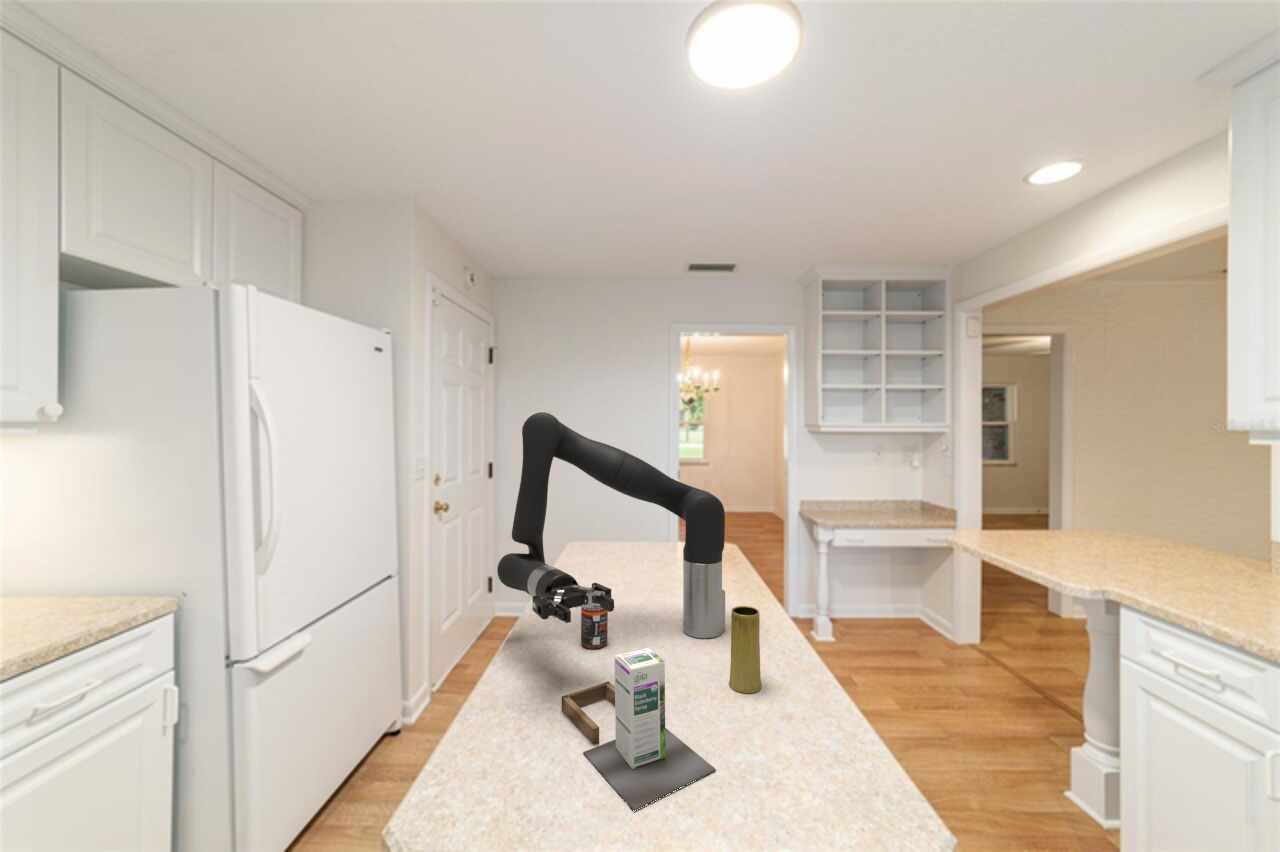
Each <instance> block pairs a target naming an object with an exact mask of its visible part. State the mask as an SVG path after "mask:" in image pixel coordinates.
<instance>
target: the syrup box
mask: <svg viewBox="0 0 1280 852" xmlns="http://www.w3.org/2000/svg"><path fill="white" fill-rule="evenodd" d="M665 664H666V663H665V660H663V658H662V657H661V656H660V655H658V653H655V652H654V651H653V650H651V649H650V648H648V647H644V648H643V649H638V650H635V651H630V652H625V653H619V654H615V655H614V686H615V706H614V709H615V712H614V713H615V716H614V717H615V722H614V723H615V739H616V748H617V750H618V751H619V753H620V754H621V756H622V757H623V758H624V759H625V761H626V762H627V763H628V764H629V766H630V767H631V768H632V769H634V768H636V767H637V766H640V765H643V764H646V763H649V762H652V761H655V760H658V759H662V758H664V757H665V756H666V744H665V728H666V683H665V682H666V673H665V671H666V670H665V669H666V668H665V667H666V665H665Z"/></svg>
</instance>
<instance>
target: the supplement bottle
mask: <svg viewBox="0 0 1280 852" xmlns="http://www.w3.org/2000/svg"><path fill="white" fill-rule="evenodd" d="M594 600H595V601H599V599H597V598H594ZM585 602H587V603H588V595H587V598H586V601H585ZM580 609H581V610H580V612H581V613H580V616H581V617H580V619H581V620H580V627H581V628H580V633H581V634H580V641H581V642H580V644H581V645H582V646H583V648H585V649H586V648H587V649H592V650H593V649H594V650H595V649H596V650H598V649H601V648H603V647H605V646H606V645H607V644H608V629H609V628H608V622H609V621H608V617H609V616H608V615H609V614H608V611H607V610H605V609H603V608H601V607H600V606H592V607H591V608H587V607H580Z"/></svg>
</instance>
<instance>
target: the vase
mask: <svg viewBox="0 0 1280 852" xmlns="http://www.w3.org/2000/svg"><path fill="white" fill-rule="evenodd" d="M730 616H731V617H730V620H731V621H730V624H731V625H730V626H731V628H730V632H731V633H730V669H729V670H730V672H729V681H728V684H729V687H730V688H731V689H732V690H734V691H736V692H739V693H741V694H742V693H743V694H754V693H758V692H759V691H760V690H761V689H762V687H763V685H762V680H761V679H762V677H761V652H760V651H761V648H760V646H761V645H760V644H761V643H760V624H761V623H760V610H759V609H758V608H756V607H753V606H749V605H739V606H738V605H737V606H735V607H732V609H731V615H730Z"/></svg>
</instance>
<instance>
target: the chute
mask: <svg viewBox="0 0 1280 852" xmlns="http://www.w3.org/2000/svg"><path fill="white" fill-rule="evenodd" d="M603 700H607V701H608V702H609V703H610V704H611V705H613V706H614V707H615V684H613V683H611V682H610V681H605V682H603V683H599V684H596V685H593V686H589V687H587V688H584V689H580V690H578V691H574V692H572V693H568V694H565V695H562V696H561V712H562V714H564V716H566V717H567V718H568V719H569V721H570V722H571V723H572V724H573V725H574V726H575V727H576V728H577V729H578V730H579V732H580V733H582V734H583V736H584V737H585V738H586V739H587V740H588V741H589V742H590V743H591V744H592V745H593V746H594V747H592V748H590V749H588V750H585V751H583V755H584V757H585V758H586V759H587V760H588V762H590V763H591V765H592V766H593V767H594V768H595V770H597V772H598V773H599V774H600V775H601V776H602V777H603V779H604V780H605V781H606V782H607V783H608V784H609V785H610V786H611V788H612V787H613V788H612V789H613V790H614V792H616V794H617V795H620V796H621V797H622V798H623V799H624V800H623V799H622V798H621V797H620V796H619V797H620V798H621V799H622V800H623V801H624V803H626V802H627V804H628V805H629V806H630V807H631V808H632V809H633V810H634V811H635V810H637V809H639V808H641V807H643V806H645V805H646V804H649V803H651V802H653V801H655V800H657V799H659V798H662V797H663V796H666V795H667V794H669V793H672V792H673V791H675V790H677V789H679V788H680V787H683V786H686V785H687V784H689V783H691V782H693V781H695V780H698V779H700V778H702V777H704V776H706V777H708V776H709V775H708V774H710V773H712V772H714V771H716V772H717V769H716V768H715V767H714V766H713V765H712V764H710V763H709V762H708V761H707V760H705V759H704V758H703V757H701V756H700V755H699V754H698V753H697V752H695V750H694V749H692V748H691V747H690V746H689V745H687V744H686V743H685V742H683V741H682V740H681V739H680V738H679V737H677V736H676V735H675V734H674V733H673V732H671V730H669V729H668V728H666V727H665V744H666V756H665V757H664V758H662V759H658V760H655V761H652V762H649V763H646V764H643V765H640V766H637V767H636V768H634V769H632V768H631V767H630V766H629V764H628V763H627V762H626V761H625V759H624V758H623V757H622V756H621V754H620V753H619V751H618V750H617V748H616V738H614V739H612V740H611V741H608V742H605V743H603V744H600V727H599V725H598V724H597V723H596V722H595V721H594V720H593V719H591V717H590V716H589V715H587V713H586V712H585V711H584V710H583V709H582V708H583V707H585V706H587V705H592V704H594V703H598V702H600V701H603ZM598 744H600V745H598ZM595 745H597V746H595ZM714 773H715V772H714ZM712 774H713V773H712ZM707 775H708V776H707ZM710 775H711V774H710ZM704 778H705V777H704ZM702 779H703V778H702ZM700 780H701V779H700ZM698 781H699V780H698ZM686 787H687V786H686ZM672 794H673V793H672ZM666 797H667V796H666ZM662 799H663V798H662ZM627 804H626V805H627ZM628 805H627V806H628ZM629 806H628V807H629ZM630 807H629V808H630ZM631 808H630V809H631ZM632 809H631V810H632ZM633 810H632V811H633Z"/></svg>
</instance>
